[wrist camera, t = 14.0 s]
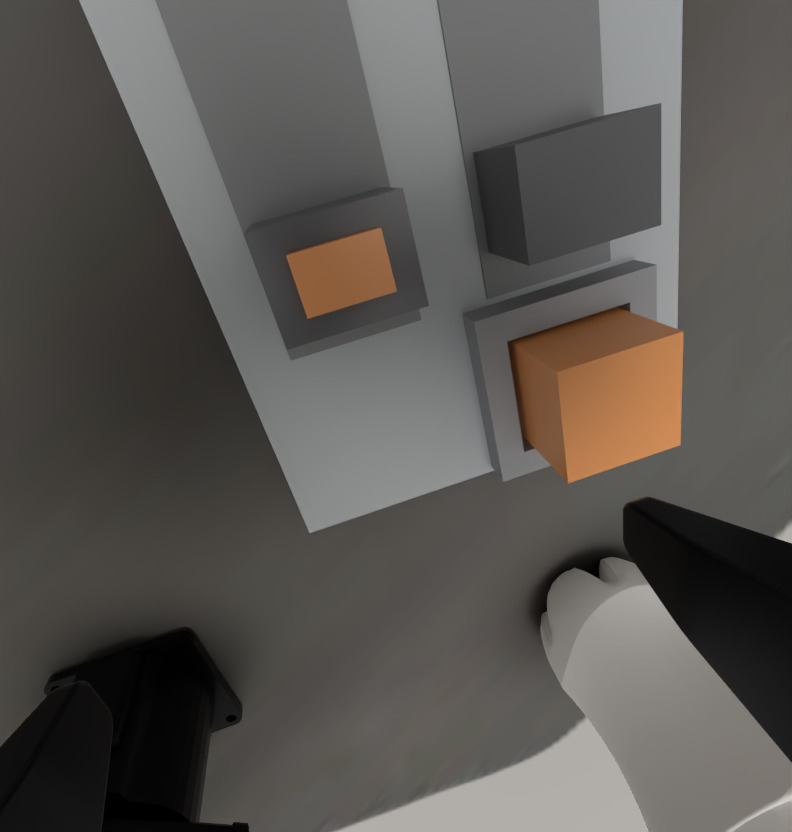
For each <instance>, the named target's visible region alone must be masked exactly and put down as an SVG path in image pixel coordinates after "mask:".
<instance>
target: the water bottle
mask: <svg viewBox="0 0 792 832" xmlns="http://www.w3.org/2000/svg"><path fill="white" fill-rule="evenodd" d="M540 632H541V638H542V642H543V646H544V649H545V653H546V656H547V659H548V661H549V663H550V665H551V667H552V669H553V672H554V673H555V675H556V677H557V679H558V681H559V682H560V684H561V686H562V688H563V690H564V691H565V692H566V693H567V694H568V695H569V696H570V697H571V698H572V700H573V701H574V702H575V703H576V704H577V705H578V707H579V708H580V709H581V710H582V711H583V713H584V714H585V715H586V716H587V718H588V719H589V720H590V722H591V723H592V725H593V726H594V727H595V729H596V730H597V732H598V733H599V734H600V736H601V737H602V739H603V740H604V742H605V744H606V745H607V747H608V749H609V750H610V752H611V753H612V755H613V757H614V758H615V760H616V762H617V764H618V765H619V768H620V769H621V771H622V773H623V775H624V777H625V779H626V780H627V783H628V784H629V787H630V789H631V791H632V793H633V795H634V797H635V800H636V802H637V804H638V806H639V808H640V810H641V813H642V816H643V818H644V820H645V823H646V825H647V828H648V830H649V832H792V763H791V761H790V760H789V759H788V758H787V757H786V756H785V754H784V753H783V752H782V751H781V750H780V748H779V747H778V746H777V745H776V744H775V742H774V741H773V740H772V739H771V738H770V736H769V735H768V734H767V733H766V732H765V730H764V729H763V728H762V727H761V726H760V725H759V723H758V722H757V721H756V720H755V719H754V717H753V716H752V715H751V714H750V713H749V711H748V710H747V709H746V708H745V707H744V705H743V704H742V703H741V702H740V701H739V699H738V698H737V697H736V696H735V695H734V694H733V692H732V691H731V690H730V689H729V688H728V686H727V685H726V684H725V683H724V682H723V680H722V679H721V678H720V677H719V676H718V674H717V673H716V672H715V671H714V670H713V668H712V667H711V666H710V665H709V664H708V662H707V661H706V660H705V659H704V658H703V657H702V655H701V654H700V653H699V652H698V651H697V649H696V648H695V647H694V646H693V645H692V643H691V642H690V641H689V640H688V638H687V637H686V636H685V635H684V633H683V632H682V631H681V629H680V628H679V627H678V625H677V624H676V622H675V621H674V620H673V618H672V617H671V615H670V614H669V612H668V611H667V610H666V608H665V607H664V605H663V604H662V602H661V601H660V599H659V598H658V596H657V595H656V593H655V592H654V591H653V589H652V588H651V586H650V585H649V583H648V582H647V580H646V579H645V577H644V576H643V574H642V573H641V572H640V570H639V569H638V567H637V566H636V564H635V563H632V562H629V561H626V560H623V559H620V558H615V557H608V558H604V559H601V560H600V565H599V579H598V578H597V577H595V576H593V575H591V574H589V573H587V572H585V571H583V570H580V569H576V568H573V569H571V570H568V571H566V572H563V573H562V574H561V575H560V576H559V577H558V578H557V579H556V580H555V581H554V582H553V583H552V585H551V587H550V590H549V592H548V595H547V611H546V612H544V613H543V614H542V616H541V627H540Z"/></svg>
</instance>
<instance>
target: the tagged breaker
mask: <svg viewBox="0 0 792 832" xmlns="http://www.w3.org/2000/svg"><path fill="white" fill-rule="evenodd" d="M243 235H244V238H245V240H246V243H247V246H248V248H249V251H250V254H251V256H252V259H253V262H254V264H255V267H256V270H257V272H258V275H259V277H260V280H261V283H262V285H263V288H264V291H265V293H266V296H267V299H268V301H269V304H270V307H271V309H272V312H273V315H274V317H275V320H276V323H277V325H278V328H279V331H280V333H281V336H282V339H283V341H284V344H285V347H286V349H287V350H288V349H292V348H295V347H298V346H301V345H304V344H308V343H311V342H314V341H317V340H321V339H324V338H327V337H330V336H333V335H337V334H340V333H343V332H346V331H350V330H353V329H356V328H359V327H362V326H366V325H369V324H372V323H375V322H379V321H382V320H385V319H388V318H391V317H395V316H398V315H401V314H404V313H408V312H411V311H414V310H417V309H420V308H424V307H427V306H429V303H428V299H427V294H426V290H425V285H424V281H423V276H422V272H421V267H420V263H419V258H418V254H417V249H416V245H415V241H414V236H413V232H412V227H411V223H410V218H409V214H408V209H407V205H406V200H405V196H404V191H403V188H389V187H380V188H377V189H374V190H370V191H367V192H363V193H360V194H356V195H353V196H349V197H346V198H343V199H339V200H336V201H332V202H329V203H325V204H322V205H318V206H315V207H311V208H308V209H305V210H301V211H298V212H294V213H291V214H287V215H284V216H280V217H277V218H274V219H270V220H267V221H263V222H260V223H256V224H253V225H250V226H249V228H248V229H247V230H246V231H245V233H244V234H243Z"/></svg>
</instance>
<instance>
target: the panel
mask: <svg viewBox="0 0 792 832" xmlns="http://www.w3.org/2000/svg"><path fill="white" fill-rule="evenodd" d="M79 1H80V3H81V6H82V8H83V10H84V13H85V15H86V17H87V20H88V22H89V24H90V27H91V29H92V31H93V34H94V36H95V38H96V40H97V43H98V45H99V47H100V50H101V52H102V54H103V57H104V59H105V61H106V64H107V66H108V68H109V71H110V73H111V75H112V77H113V80H114V82H115V84H116V87H117V89H118V91H119V94H120V96H121V98H122V101H123V103H124V105H125V107H126V110H127V112H128V114H129V117H130V119H131V121H132V124H133V126H134V128H135V131H136V133H137V135H138V138H139V140H140V142H141V144H142V147H143V149H144V151H145V154H146V156H147V158H148V161H149V163H150V165H151V168H152V170H153V172H154V175H155V177H156V179H157V181H158V184H159V186H160V188H161V191H162V193H163V195H164V198H165V200H166V202H167V205H168V207H169V209H170V211H171V214H172V216H173V218H174V221H175V223H176V225H177V228H178V230H179V232H180V235H181V237H182V239H183V242H184V244H185V246H186V248H187V251H188V253H189V255H190V258H191V260H192V262H193V265H194V267H195V269H196V272H197V274H198V276H199V279H200V281H201V283H202V285H203V288H204V290H205V292H206V295H207V297H208V299H209V302H210V304H211V306H212V309H213V311H214V313H215V316H216V318H217V320H218V322H219V325H220V327H221V329H222V332H223V334H224V336H225V339H226V341H227V343H228V346H229V348H230V350H231V352H232V355H233V357H234V359H235V362H236V364H237V366H238V369H239V371H240V373H241V376H242V378H243V380H244V383H245V385H246V387H247V389H248V392H249V394H250V396H251V399H252V401H253V403H254V406H255V408H256V410H257V413H258V415H259V417H260V420H261V422H262V424H263V426H264V429H265V431H266V433H267V436H268V438H269V440H270V443H271V445H272V447H273V450H274V452H275V454H276V456H277V459H278V461H279V463H280V466H281V468H282V470H283V473H284V475H285V477H286V480H287V482H288V484H289V487H290V489H291V491H292V493H293V496H294V498H295V500H296V503H297V505H298V507H299V510H300V512H301V514H302V517H303V519H304V521H305V524H306V526H307V528H308V530H309V533H312V532H315V531H318V530H321V529H324V528H327V527H329V526H332V525H335V524H338V523H341V522H344V521H347V520H350V519H353V518H356V517H359V516H362V515H365V514H368V513H371V512H374V511H377V510H379V509H382V508H385V507H388V506H391V505H394V504H397V503H400V502H403V501H406V500H409V499H412V498H415V497H418V496H421V495H424V494H427V493H430V492H432V491H435V490H438V489H441V488H444V487H447V486H450V485H453V484H456V483H459V482H462V481H465V480H468V479H471V478H474V477H477V476H480V475H483V474H485V473H488V472H491V471H494V470H495V472H496V473H497V474H498V476H499V477H500V478H501V480H502V481H503V482H504V481H507V480H510V479H513V478H516V477H519V476H522V475H525V474H528V473H531V472H534V471H537V470H540V469H542V468H545V467H548V466H551V465H550V464H549V463H548V462H547V461H546V460H545V459H544V457H543V456H542V455H541V454H540V453H539V452H538V451H537V450H536V449H535V448H534V447H533V446H532V445H531V444H530V443H529V442H528V441H527V440H526V439H525V438H524V437H523V436H522V435H521V428H520V422H519V415H518V409H517V402H516V396H515V389H514V383H513V376H512V370H511V363H510V357H509V350H508V344H507V341H511V340H514V339H517V338H520V337H523V336H526V335H529V334H532V333H536V332H539V331H542V330H545V329H548V328H551V327H554V326H557V325H561V324H564V323H567V322H570V321H573V320H576V319H579V318H582V317H586V316H589V315H592V314H595V313H598V312H601V311H604V310H607V309H611V308H614V307H618V308H621V309H623V310H626V311H629V312H632V313H634V314H637V315H640V316H643V317H645V318H648V319H651V320H654V321H656V322H659V323H662V324H665V325H667V326H670V327H673V328H676V329H677V321H678V259H679V197H680V134H681V72H682V10H683V0H79ZM380 187H389V188H403V191H404V196H405V200H406V205H407V209H408V214H409V218H410V223H411V227H412V232H413V236H414V241H415V245H416V249H417V254H418V258H419V263H420V267H421V272H422V276H423V281H424V285H425V290H426V294H427V299H428V303H429V306H427V307H424V308H420V309H417V310H414V311H411V312H408V313H404V314H401V315H398V316H395V317H391V318H388V319H385V320H382V321H379V322H375V323H372V324H369V325H366V326H362V327H359V328H356V329H353V330H350V331H346V332H343V333H340V334H337V335H333V336H330V337H327V338H324V339H321V340H317V341H314V342H311V343H308V344H304V345H301V346H298V347H295V348H292V349H288V350H287V349H286V347H285V344H284V341H283V339H282V336H281V333H280V331H279V328H278V325H277V323H276V320H275V317H274V315H273V312H272V309H271V307H270V304H269V301H268V299H267V296H266V293H265V291H264V288H263V285H262V283H261V280H260V277H259V275H258V272H257V270H256V267H255V264H254V262H253V259H252V256H251V254H250V251H249V248H248V246H247V243H246V240H245V238H244V235H243V234H244V233H245V231H246V230H247V229H248V228H249V226H250V225H253V224H256V223H260V222H263V221H267V220H270V219H274V218H277V217H280V216H284V215H287V214H291V213H294V212H298V211H301V210H305V209H308V208H311V207H315V206H318V205H322V204H325V203H329V202H332V201H336V200H339V199H343V198H346V197H349V196H353V195H356V194H360V193H363V192H367V191H370V190H374V189H377V188H380Z"/></svg>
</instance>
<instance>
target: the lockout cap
mask: <svg viewBox="0 0 792 832" xmlns="http://www.w3.org/2000/svg"><path fill="white" fill-rule="evenodd" d="M507 344H508V350H509V357H510V363H511V370H512V376H513V383H514V389H515V396H516V402H517V409H518V415H519V422H520V428H521V435H522V436H523V437H524V438H525V439H526V440H527V441H528V442H529V443H530V444H531V445H532V446H533V447H534V448H535V449H536V450H537V451H538V452H539V453H540V454H541V455H542V456H543V457H544V459H545V460H546V461H547V462H548V463H549V464H550V465H551V466H552V467H553V468H554V469H555V470H556V471H557V472H558V473H559V474H560V475H561V476H562V477H563V478H564V479H565V480H566V482H567V483H571V482H573V481H576V480H579V479H582V478H585V477H588V476H591V475H594V474H597V473H600V472H603V471H606V470H609V469H612V468H615V467H617V466H620V465H623V464H626V463H629V462H632V461H635V460H638V459H641V458H644V457H647V456H650V455H653V454H656V453H658V452H661V451H664V450H667V449H670V448H673V447H676V446H679V445H680V440H681V403H682V367H683V331H681V330H678V329H676V328H673V327H670V326H667V325H665V324H662V323H659V322H656V321H654V320H651V319H648V318H645V317H643V316H640V315H637V314H634V313H632V312H629V311H626V310H623V309H621V308H618V307H614V308H611V309H607V310H604V311H601V312H598V313H595V314H592V315H589V316H586V317H582V318H579V319H576V320H573V321H570V322H567V323H564V324H561V325H557V326H554V327H551V328H548V329H545V330H542V331H539V332H536V333H532V334H529V335H526V336H523V337H520V338H517V339H514V340H511V341H507Z"/></svg>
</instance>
